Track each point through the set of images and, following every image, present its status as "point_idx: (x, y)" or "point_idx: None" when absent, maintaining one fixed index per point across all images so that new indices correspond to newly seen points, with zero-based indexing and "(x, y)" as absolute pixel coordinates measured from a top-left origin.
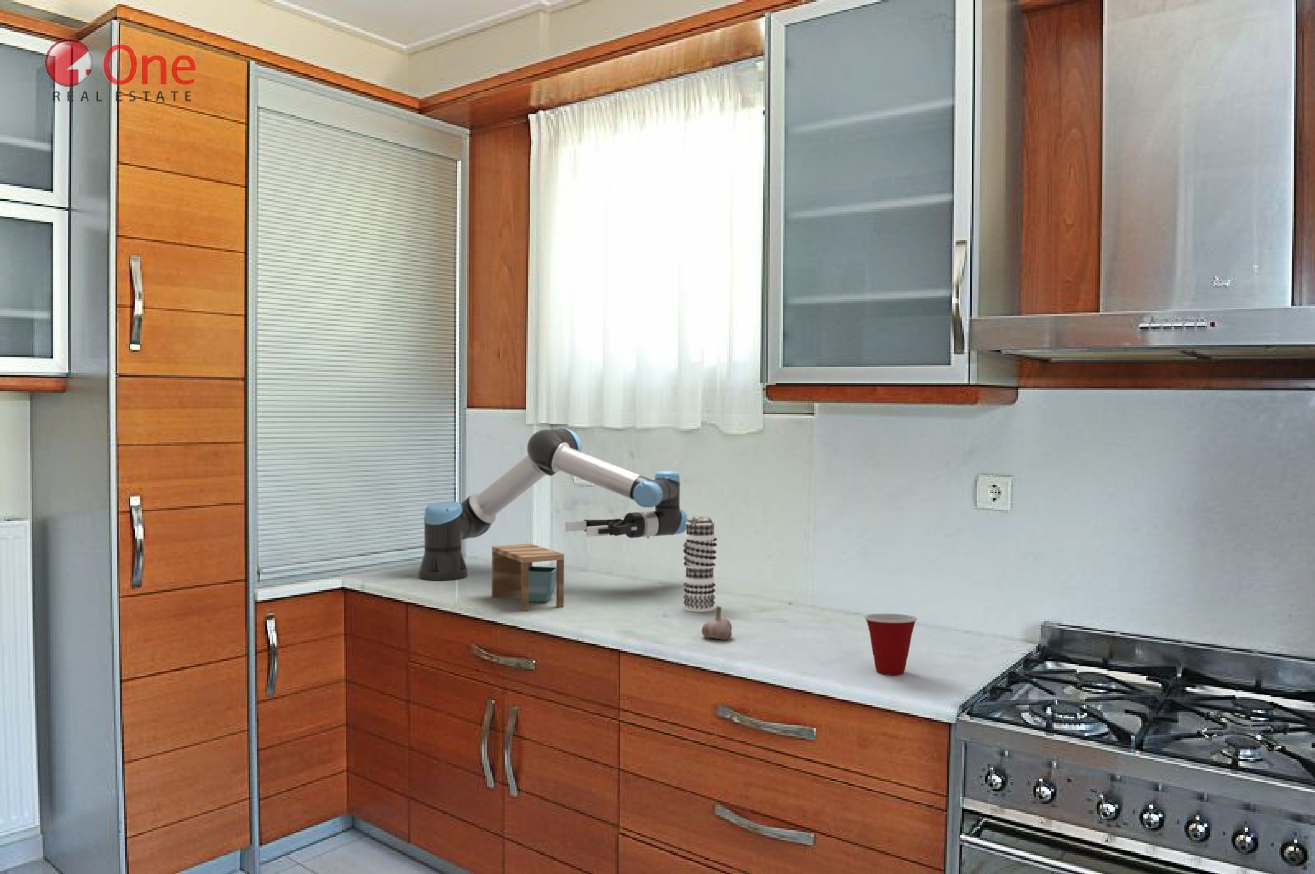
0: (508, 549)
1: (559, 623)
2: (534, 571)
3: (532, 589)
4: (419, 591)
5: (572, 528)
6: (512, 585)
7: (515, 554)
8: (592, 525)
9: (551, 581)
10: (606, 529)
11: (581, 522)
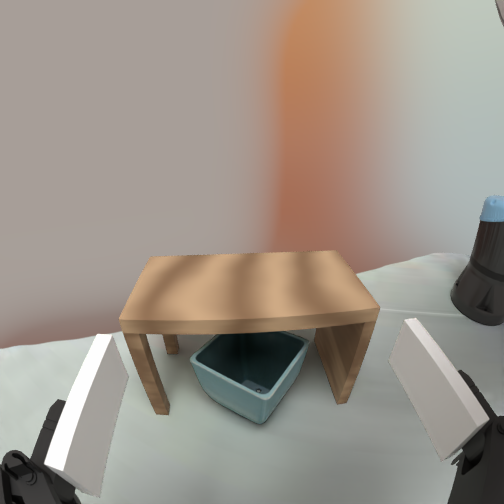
0: (278, 260)
1: (64, 349)
2: None
3: (229, 362)
4: (378, 279)
5: (409, 378)
6: (328, 354)
7: (195, 255)
8: (466, 487)
9: (197, 377)
10: (41, 440)
11: (453, 402)
